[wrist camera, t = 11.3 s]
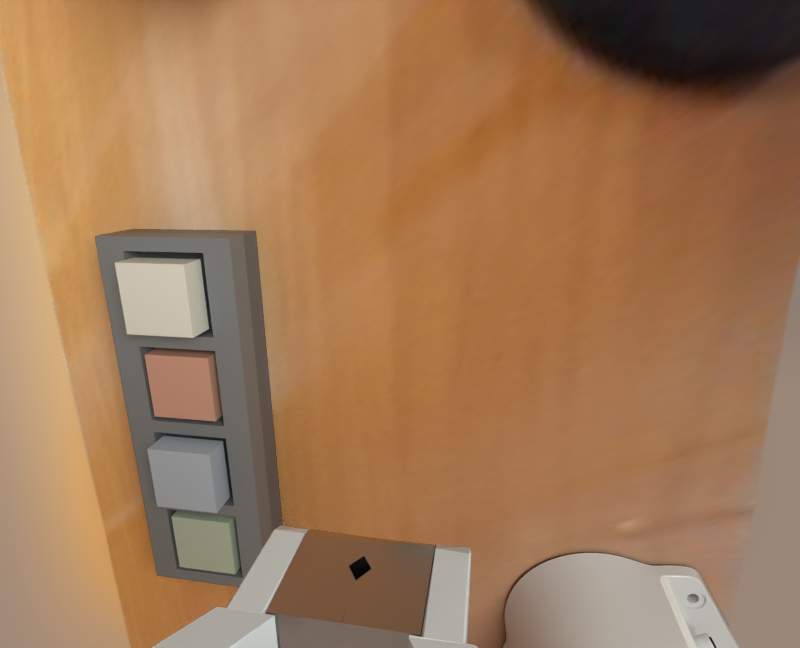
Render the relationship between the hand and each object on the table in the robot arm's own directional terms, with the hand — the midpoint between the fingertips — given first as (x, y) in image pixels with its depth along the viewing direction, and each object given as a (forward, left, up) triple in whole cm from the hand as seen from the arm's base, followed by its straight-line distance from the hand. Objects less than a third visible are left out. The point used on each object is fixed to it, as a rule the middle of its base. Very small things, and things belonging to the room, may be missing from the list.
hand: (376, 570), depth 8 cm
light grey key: (+1, +26, -25) cm, 37 cm away
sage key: (-4, +31, -27) cm, 41 cm away
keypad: (+4, +24, -29) cm, 38 cm away
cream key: (+12, +17, -26) cm, 33 cm away
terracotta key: (+7, +22, -27) cm, 35 cm away
